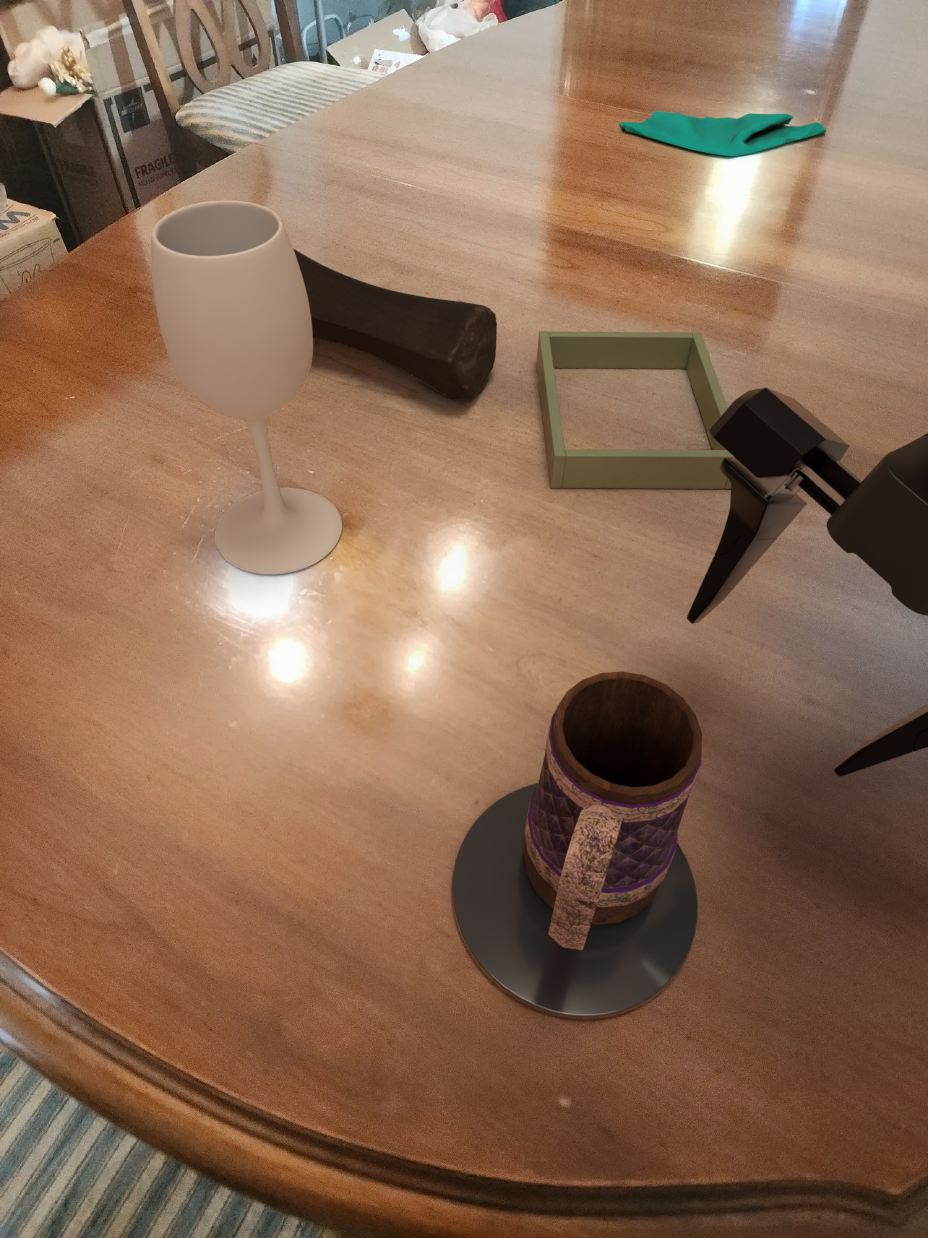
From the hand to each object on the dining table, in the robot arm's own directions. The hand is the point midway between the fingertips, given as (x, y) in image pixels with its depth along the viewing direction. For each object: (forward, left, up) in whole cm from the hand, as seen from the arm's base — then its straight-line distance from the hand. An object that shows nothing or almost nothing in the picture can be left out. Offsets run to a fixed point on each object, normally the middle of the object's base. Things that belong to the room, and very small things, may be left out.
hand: (761, 693), depth 39 cm
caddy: (0, -34, -9) cm, 35 cm away
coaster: (+8, +5, -9) cm, 13 cm away
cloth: (-20, -94, -9) cm, 96 cm away
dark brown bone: (+24, -44, -9) cm, 51 cm away
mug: (+8, +5, -9) cm, 13 cm away
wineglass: (+26, -21, -9) cm, 35 cm away
